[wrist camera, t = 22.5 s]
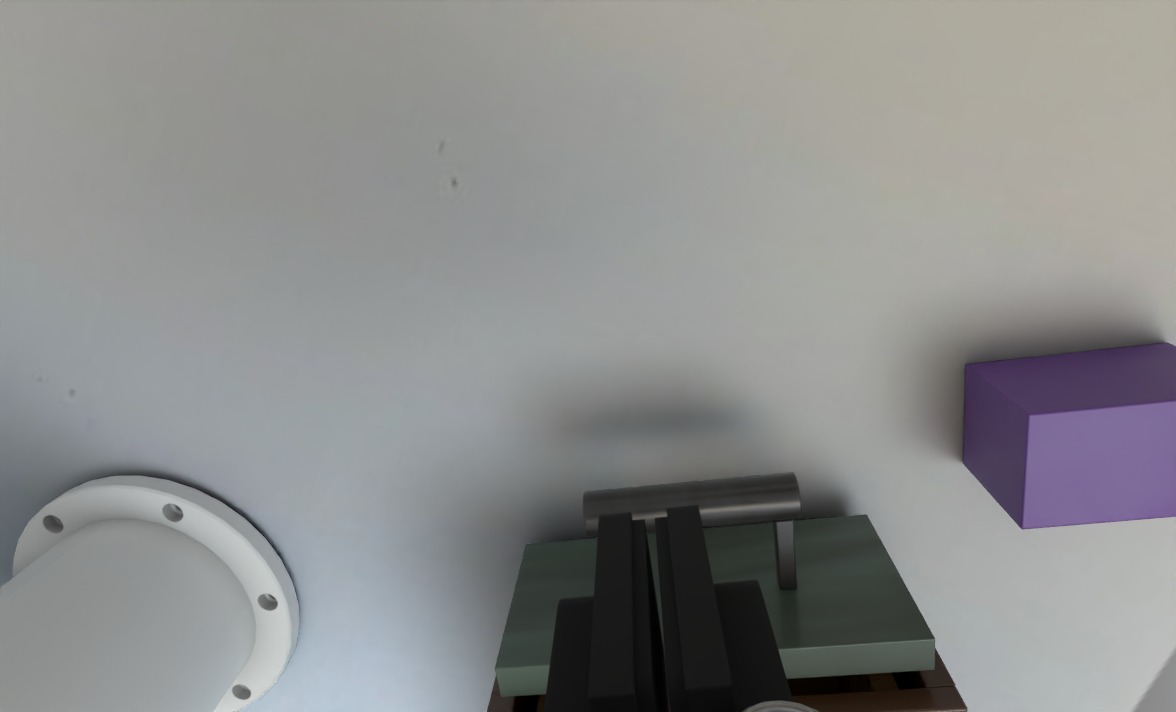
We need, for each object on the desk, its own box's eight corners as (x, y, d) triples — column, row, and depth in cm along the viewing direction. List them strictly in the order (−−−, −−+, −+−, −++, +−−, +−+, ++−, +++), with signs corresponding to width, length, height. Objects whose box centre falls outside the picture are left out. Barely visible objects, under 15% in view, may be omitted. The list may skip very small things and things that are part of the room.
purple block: (962, 463, 28) (1021, 530, 24) (965, 363, 27) (1028, 414, 22) (1155, 445, 27) (1252, 510, 23) (1167, 341, 26) (1273, 390, 22)
